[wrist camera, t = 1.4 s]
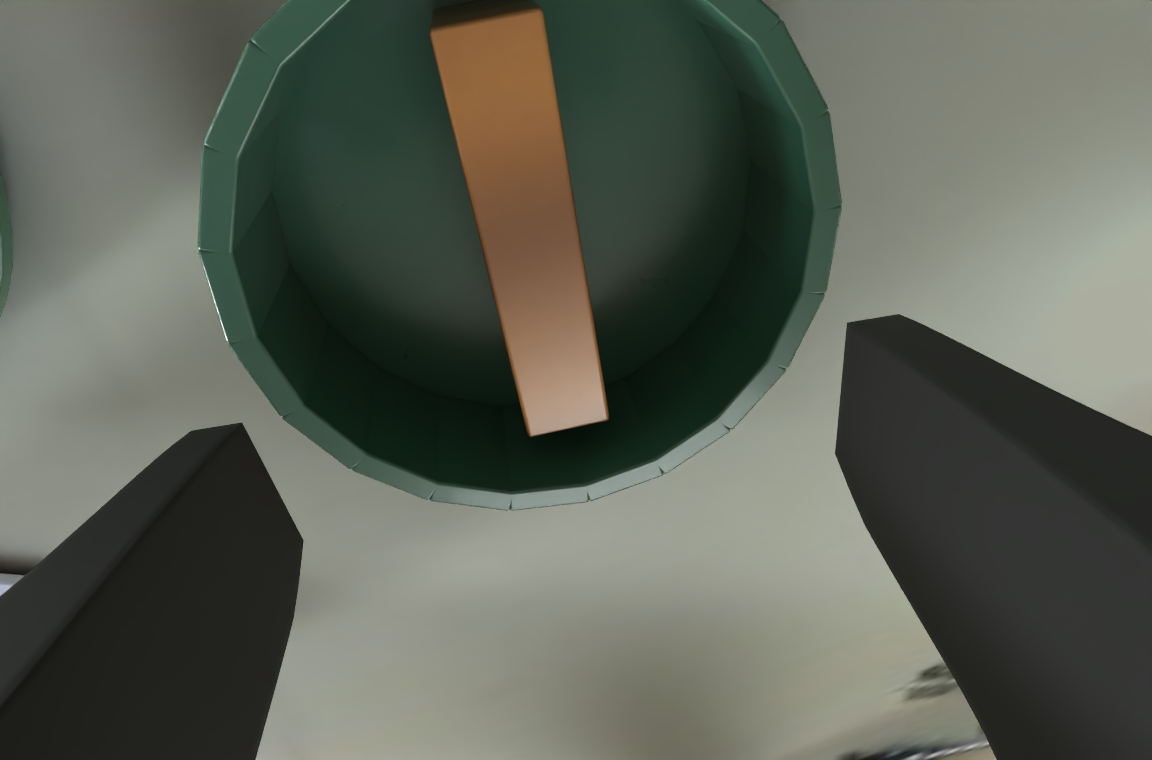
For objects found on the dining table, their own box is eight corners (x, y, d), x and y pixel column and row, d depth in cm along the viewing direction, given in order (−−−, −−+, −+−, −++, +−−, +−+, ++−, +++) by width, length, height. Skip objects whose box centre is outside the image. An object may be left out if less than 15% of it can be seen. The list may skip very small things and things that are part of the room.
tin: (664, 442, 22) (703, 536, 19) (232, 372, 19) (186, 471, 16) (854, 12, 16) (957, 39, 13) (276, -199, 13) (218, -236, 10)
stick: (591, 361, 20) (610, 421, 18) (518, 376, 20) (528, 438, 17) (527, -9, 15) (542, 6, 13) (430, 9, 15) (427, 28, 12)
